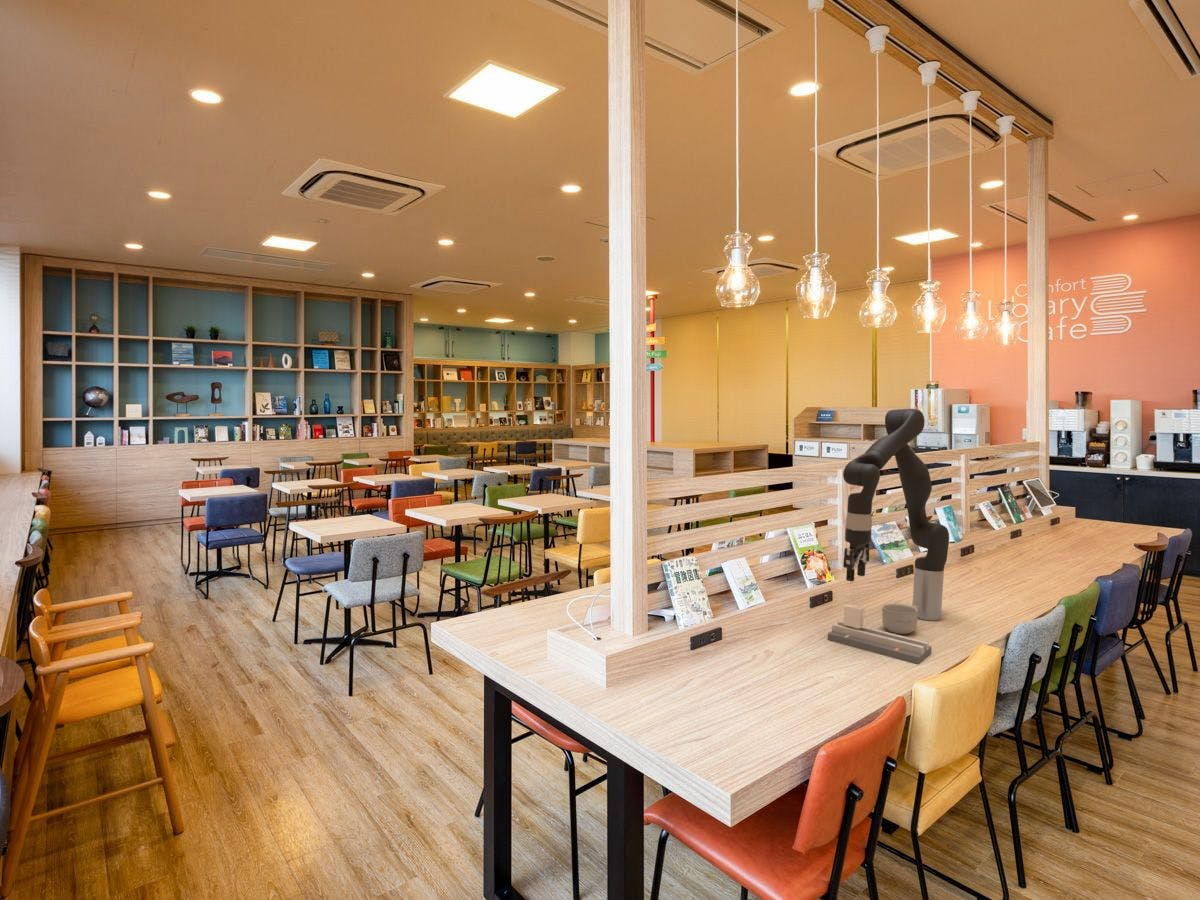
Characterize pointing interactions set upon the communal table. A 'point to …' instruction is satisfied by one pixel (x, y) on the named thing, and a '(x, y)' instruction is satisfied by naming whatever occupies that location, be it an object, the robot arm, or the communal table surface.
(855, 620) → the fader
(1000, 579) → the communal table surface
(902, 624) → the teacup
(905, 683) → the communal table surface
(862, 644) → the track
